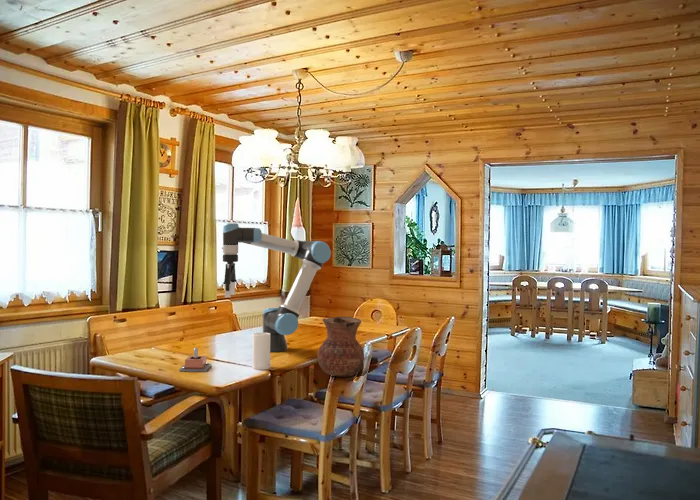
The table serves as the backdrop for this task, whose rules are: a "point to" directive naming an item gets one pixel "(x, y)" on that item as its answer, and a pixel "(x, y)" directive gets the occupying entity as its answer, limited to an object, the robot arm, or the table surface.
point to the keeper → (195, 368)
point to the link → (195, 362)
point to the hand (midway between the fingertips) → (230, 296)
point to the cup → (261, 351)
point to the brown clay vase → (341, 347)
